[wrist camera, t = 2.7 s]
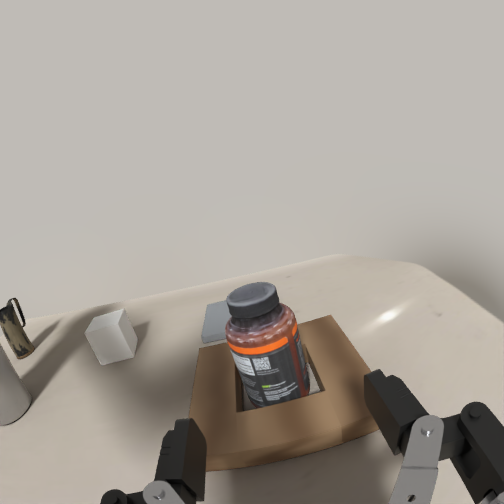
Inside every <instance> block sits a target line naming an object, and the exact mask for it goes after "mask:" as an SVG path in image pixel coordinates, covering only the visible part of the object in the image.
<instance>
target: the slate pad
mask: <svg viewBox="0 0 504 504" xmlns="http://www.w3.org/2000/svg"><path fill="white" fill-rule="evenodd" d="M231 316H232V315H231V314H230V313H229V308H228V305H227V302H226V300H225V301H221V302H217V303H213V304H209V305H207V309H206V314H205V320H204V325H203V331H202V337H201V338H202V340H203V343H207V342H212V341H216V340H221V339H225V338H226V335H225V327H226V324H227V322H228V320H229V319H230V318H231Z"/></svg>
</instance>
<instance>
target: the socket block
mask: <svg viewBox="0 0 504 504" xmlns="http://www.w3.org/2000/svg"><path fill="white" fill-rule="evenodd" d="M297 327H298V331H299V335H300V340H301V345H302V349H303V354H304V359H305V363H307V362H309V364H310V367H311V369H312V372H313V374H314V376H315V379H316V381H317V384H318V386H319V388H320V391H321V392H319V393H316V394H312V395H309V396H306V397H302V398H298V399H295V400H291V401H287V402H283V403H279V404H275V405H271V406H267V407H262V408H258V409H253V410H248V411H243V405H242V389H241V376H240V374H239V371H238V368H237V366H236V363H235V361H234V358H233V355H232V353H231V350H230V347H229V344H228V342H227V343H223V344H218V345H213V346H209V347H204V348H200V349H199V354H198V360H197V366H196V372H195V379H194V385H193V391H192V398H191V404H190V411H189V418H193V419H194V421H195V422H196V424H197V425H198V427H199V429H200V430H201V432H202V433H203V435H204V437H205V439H206V443H207V456H206V472H208V471H219V470H228V469H236V468H243V467H250V466H256V465H262V464H267V463H272V462H277V461H282V460H286V459H290V458H294V457H298V456H302V455H306V454H310V453H313V452H317V451H320V450H324V449H327V448H330V447H333V446H336V445H339V444H342V443H345V442H348V441H351V440H354V439H356V438H359V437H361V436H364V435H367V434H369V433H372V432H374V431H376V430H379V427H378V425H377V424H376V422H375V420H374V418H373V417H372V415H371V413H370V411H369V410H368V408H367V406H366V403H365V399H364V375H365V374H368V373H370V372H371V370H370V369H369V368H368V366H367V365H366V363H365V362H364V360H363V359H362V358H361V356H360V355H359V353H358V352H357V351H356V349H355V348H354V346H353V345H352V344H351V342H350V341H349V339H348V338H347V337H346V335H345V334H344V332H343V331H342V330H341V328H340V327H339V325H338V324H337V323H336V321H335V320H334V318H333V317H332V316H331V315H328V316H325V317H322V318H318V319H315V320H312V321H308V322H305V323H301V324H298V325H297Z"/></svg>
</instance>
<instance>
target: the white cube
mask: <svg viewBox="0 0 504 504" xmlns="http://www.w3.org/2000/svg"><path fill="white" fill-rule="evenodd" d="M84 334H85V336H86V338H87V340H88V342H89V344H90V346H91V347H92V349H93V351H94V353H95V355H96V357H97V359H98V360H99V362H100V364H101V365H106V364H110V363H114V362H118V361H122V360H126V359H130V358H133V357H134V355H135V351H136V346H137V341H138V338H137V336H136V334H135V332H134V329H133V327H132V325H131V323H130V320H129V318H128V316H127V313H126V311H125V309H120V310H117V311H114V312H110V313H107V314H104V315H100V316H97V317H94V318H93V320H92V321H91V323H90V324H89V326H88V328H87V329H86V331H85V333H84Z"/></svg>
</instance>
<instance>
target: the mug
mask: <svg viewBox="0 0 504 504" xmlns="http://www.w3.org/2000/svg"><path fill="white" fill-rule="evenodd" d="M12 299H13V300H14V301H15V303H16V306H17V308H18V311H19V314H20V316H21V318H22V322H23V326H21V324H20V322H19V319H18V317H17V315H16V312H15V310H14V307H13V304H12V303H11V300H12ZM12 299H10V300H9V301H8V303H7V306H6V307H4V308H2V309H1V310H0V325H1V328H2V330H3V332H4V335H5V337H6V339H7V341H8V343H9V345H10V347H11V349H12V350H13V352H14V353H15V355H16V357H17V359H23V358H25V357H27V356H29V355H30V354H31V353H32V352H33V351H34V349H35V348H34V347H33V345H32V343H31V342H30V340H29V339H28V337H27V335H26V333H25V332H24V330H23V327H24V326H25V324H26V323H25V319H24V316H23V313H22V310H21V308H20V305H19V302H18V300H17V299H16V298H12Z"/></svg>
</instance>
